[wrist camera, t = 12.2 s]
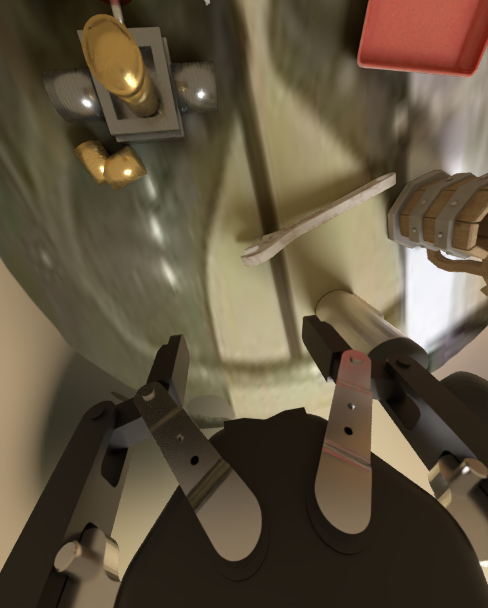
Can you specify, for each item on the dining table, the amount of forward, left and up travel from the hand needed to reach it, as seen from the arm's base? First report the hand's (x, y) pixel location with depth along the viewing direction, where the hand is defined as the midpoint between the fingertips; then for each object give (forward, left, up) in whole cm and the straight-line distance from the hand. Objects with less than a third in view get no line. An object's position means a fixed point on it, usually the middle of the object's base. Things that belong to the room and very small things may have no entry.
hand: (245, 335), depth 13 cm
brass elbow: (+12, -11, -26) cm, 31 cm away
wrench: (-16, -3, -28) cm, 33 cm away
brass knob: (+8, -20, -26) cm, 34 cm away
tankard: (-40, +2, -28) cm, 49 cm away
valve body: (+8, -22, -28) cm, 36 cm away
